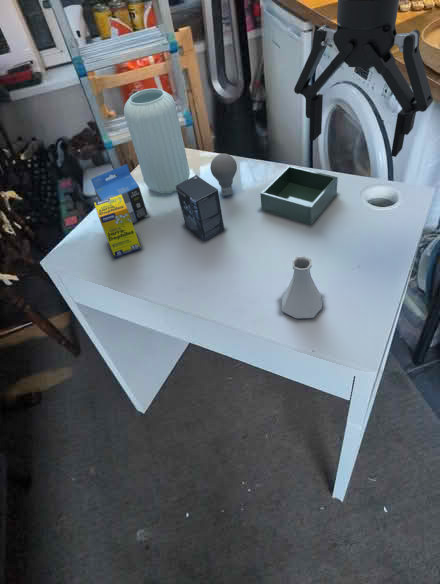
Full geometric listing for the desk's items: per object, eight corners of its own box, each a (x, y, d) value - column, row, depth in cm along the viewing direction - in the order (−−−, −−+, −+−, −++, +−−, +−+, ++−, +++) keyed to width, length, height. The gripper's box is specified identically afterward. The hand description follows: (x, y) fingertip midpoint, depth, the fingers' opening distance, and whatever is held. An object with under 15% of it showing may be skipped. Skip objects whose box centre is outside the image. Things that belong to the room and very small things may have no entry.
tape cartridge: (114, 233, 98) (95, 186, 89) (107, 225, 101) (89, 179, 92) (148, 216, 101) (134, 170, 92) (141, 209, 103) (127, 163, 94)
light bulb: (235, 202, 100) (230, 163, 93) (211, 199, 102) (204, 161, 95) (243, 187, 104) (239, 149, 97) (220, 185, 106) (214, 147, 99)
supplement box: (115, 259, 92) (98, 217, 84) (109, 243, 96) (93, 202, 88) (142, 249, 93) (127, 207, 85) (135, 234, 97) (121, 193, 89)
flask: (275, 315, 75) (273, 274, 68) (287, 286, 80) (286, 245, 73) (317, 324, 73) (319, 282, 66) (326, 293, 77) (329, 251, 70)
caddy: (336, 194, 97) (338, 177, 94) (310, 225, 91) (311, 207, 88) (288, 182, 103) (288, 165, 100) (261, 210, 97) (260, 193, 94)
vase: (196, 172, 112) (179, 83, 96) (184, 198, 104) (163, 106, 88) (155, 172, 114) (131, 85, 99) (140, 197, 107) (112, 108, 91)
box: (184, 225, 97) (174, 185, 89) (205, 214, 98) (197, 174, 91) (204, 242, 92) (195, 200, 84) (225, 230, 94) (218, 188, 86)
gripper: (268, -6, 58) (274, 140, 74) (467, -2, 46) (426, 172, 62) (295, -22, 62) (296, 121, 77) (486, -22, 50) (443, 147, 65)
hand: (354, 144), depth 70 cm, fingers open, 13 cm apart
